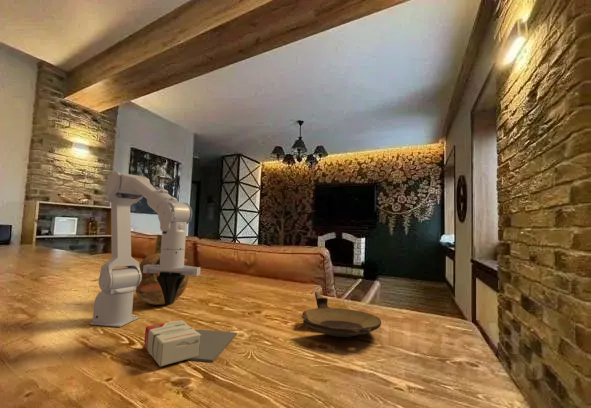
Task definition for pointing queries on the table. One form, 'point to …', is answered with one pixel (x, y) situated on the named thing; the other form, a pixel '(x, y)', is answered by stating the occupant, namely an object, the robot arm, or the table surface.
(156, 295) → the ceramic vessel
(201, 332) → the mat
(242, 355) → the table surface
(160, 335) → the ink box
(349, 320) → the broken handled dish
